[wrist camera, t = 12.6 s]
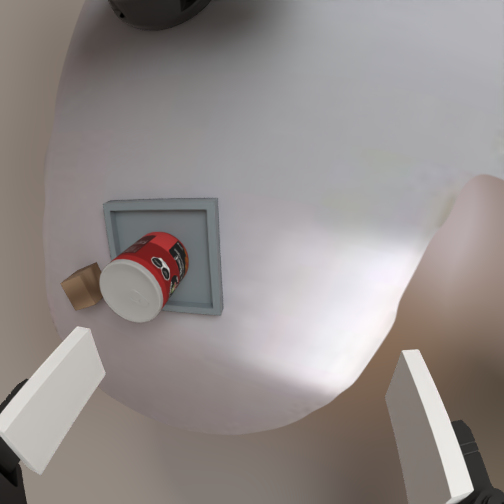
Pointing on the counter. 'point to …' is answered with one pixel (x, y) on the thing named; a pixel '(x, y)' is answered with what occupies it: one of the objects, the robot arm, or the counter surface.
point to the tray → (190, 235)
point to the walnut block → (84, 287)
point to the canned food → (144, 276)
